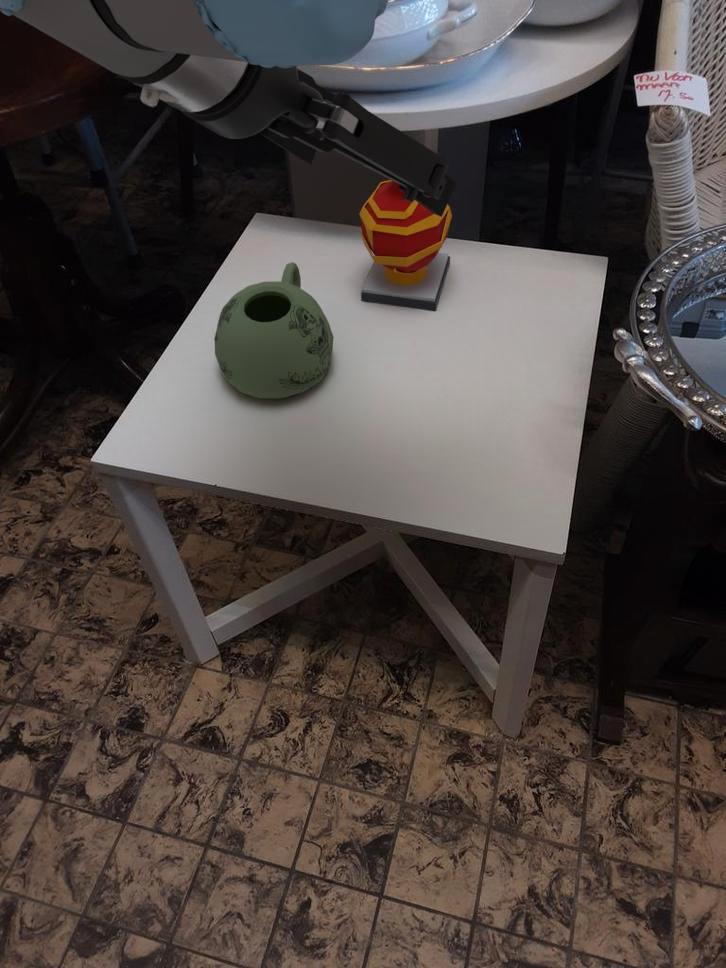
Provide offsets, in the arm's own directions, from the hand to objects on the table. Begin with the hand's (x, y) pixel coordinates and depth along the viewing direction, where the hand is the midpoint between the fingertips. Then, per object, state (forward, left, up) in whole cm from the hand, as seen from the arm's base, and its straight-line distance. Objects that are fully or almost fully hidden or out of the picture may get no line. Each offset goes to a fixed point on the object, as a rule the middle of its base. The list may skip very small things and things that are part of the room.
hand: (376, 172), depth 63 cm
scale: (+8, -16, -25) cm, 31 cm away
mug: (+12, +3, -25) cm, 28 cm away
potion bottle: (+8, -16, -24) cm, 29 cm away
